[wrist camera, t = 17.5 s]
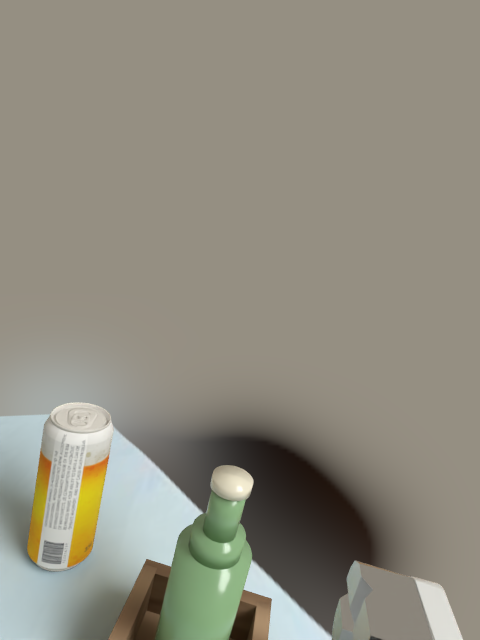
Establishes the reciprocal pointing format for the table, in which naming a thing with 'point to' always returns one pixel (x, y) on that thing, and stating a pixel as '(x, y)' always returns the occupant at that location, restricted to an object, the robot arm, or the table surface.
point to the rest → (147, 598)
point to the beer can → (69, 485)
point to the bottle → (209, 565)
